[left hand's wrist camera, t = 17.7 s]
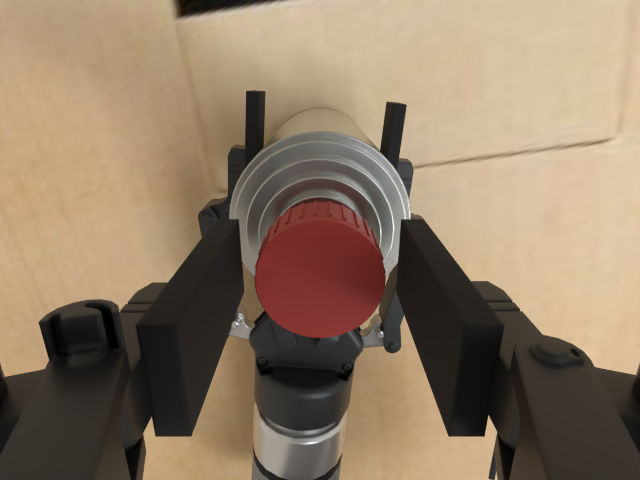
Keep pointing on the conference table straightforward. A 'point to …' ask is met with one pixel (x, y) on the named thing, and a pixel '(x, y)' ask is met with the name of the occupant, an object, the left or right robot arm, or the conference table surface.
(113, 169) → the conference table surface
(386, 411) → the conference table surface
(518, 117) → the conference table surface
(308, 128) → the bottle
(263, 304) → the cap
